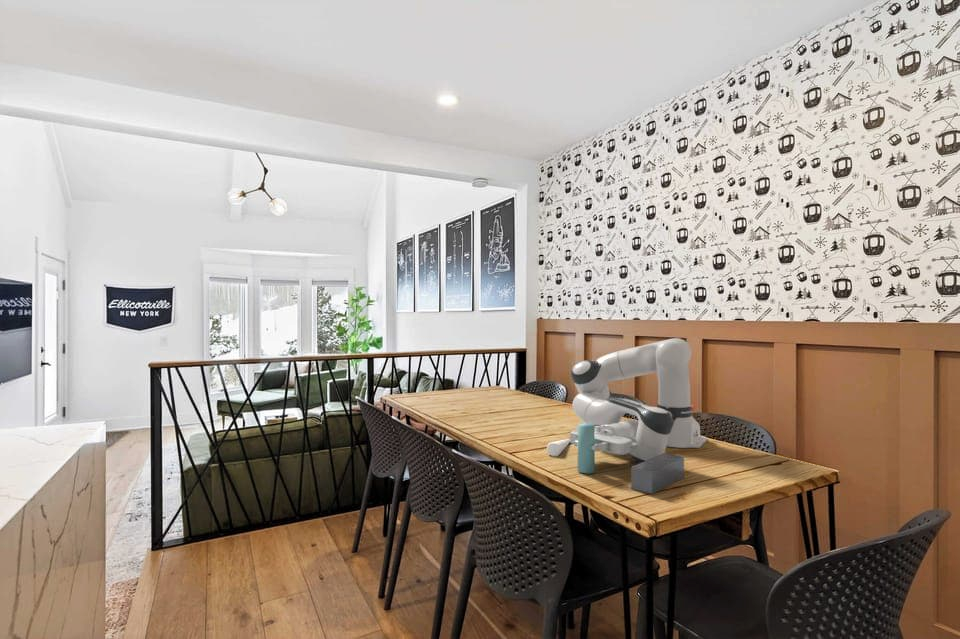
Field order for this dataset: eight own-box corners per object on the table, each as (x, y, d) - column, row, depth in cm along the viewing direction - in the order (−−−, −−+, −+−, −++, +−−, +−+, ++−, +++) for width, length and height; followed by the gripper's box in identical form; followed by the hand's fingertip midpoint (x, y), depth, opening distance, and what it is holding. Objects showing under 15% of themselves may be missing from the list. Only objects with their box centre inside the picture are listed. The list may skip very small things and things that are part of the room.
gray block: (664, 472, 148) (664, 452, 148) (684, 477, 143) (684, 456, 143) (631, 488, 134) (631, 467, 134) (652, 494, 129) (652, 471, 129)
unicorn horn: (579, 442, 185) (579, 429, 185) (559, 458, 164) (559, 443, 164) (567, 440, 188) (567, 428, 188) (546, 456, 167) (546, 442, 167)
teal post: (583, 467, 152) (583, 422, 152) (597, 470, 148) (597, 424, 148) (574, 470, 149) (574, 424, 148) (588, 474, 145) (588, 427, 145)
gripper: (640, 455, 149) (613, 464, 140) (586, 442, 164) (559, 449, 156) (640, 434, 149) (613, 442, 140) (586, 423, 164) (558, 429, 156)
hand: (584, 445), depth 148 cm, fingers closed on teal post, 5 cm apart
